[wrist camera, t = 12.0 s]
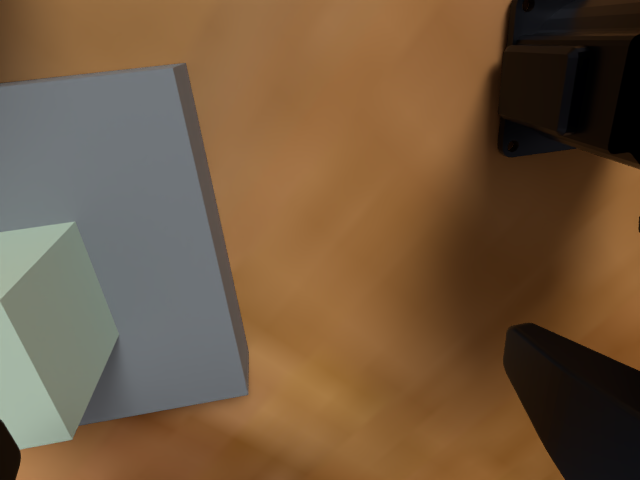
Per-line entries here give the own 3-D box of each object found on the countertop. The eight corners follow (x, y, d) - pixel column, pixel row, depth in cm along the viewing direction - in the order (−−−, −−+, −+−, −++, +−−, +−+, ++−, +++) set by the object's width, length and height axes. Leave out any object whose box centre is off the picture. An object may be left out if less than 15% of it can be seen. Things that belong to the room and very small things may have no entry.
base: (185, 62, 16) (172, 67, 13) (248, 351, 22) (248, 394, 19) (-225, 108, 15) (-330, 123, 12) (-36, 400, 21) (-78, 454, 18)
